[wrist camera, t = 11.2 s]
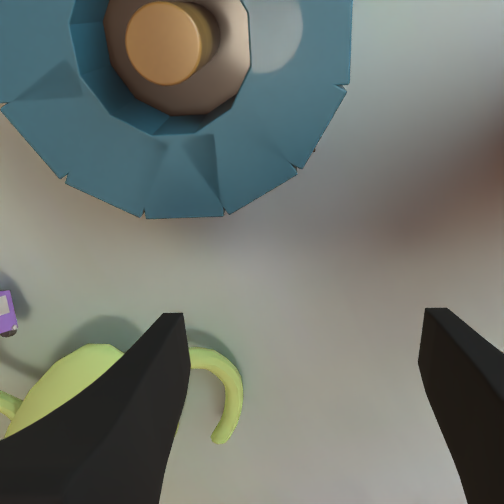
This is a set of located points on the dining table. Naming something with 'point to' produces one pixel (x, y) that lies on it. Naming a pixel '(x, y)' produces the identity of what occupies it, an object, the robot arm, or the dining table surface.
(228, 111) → the ring
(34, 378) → the dining table surface
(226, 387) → the figurine
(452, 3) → the dining table surface
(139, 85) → the peg stand
